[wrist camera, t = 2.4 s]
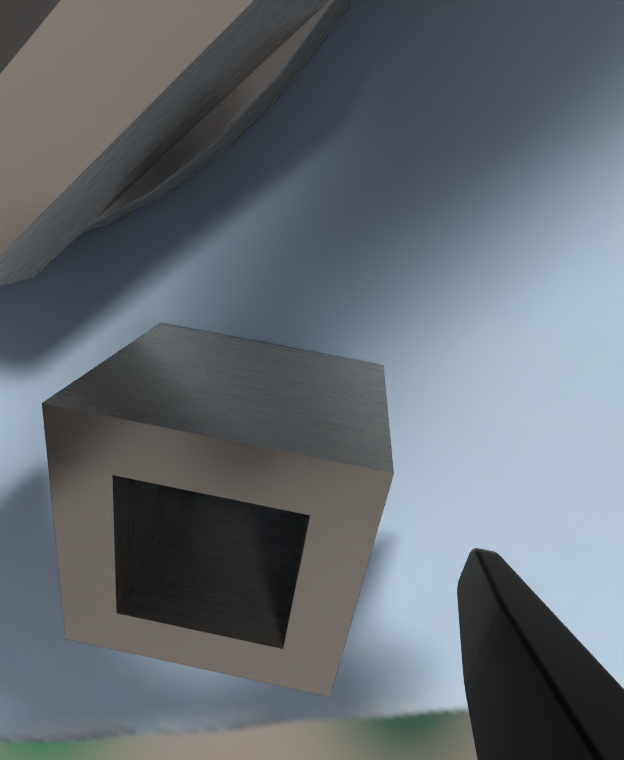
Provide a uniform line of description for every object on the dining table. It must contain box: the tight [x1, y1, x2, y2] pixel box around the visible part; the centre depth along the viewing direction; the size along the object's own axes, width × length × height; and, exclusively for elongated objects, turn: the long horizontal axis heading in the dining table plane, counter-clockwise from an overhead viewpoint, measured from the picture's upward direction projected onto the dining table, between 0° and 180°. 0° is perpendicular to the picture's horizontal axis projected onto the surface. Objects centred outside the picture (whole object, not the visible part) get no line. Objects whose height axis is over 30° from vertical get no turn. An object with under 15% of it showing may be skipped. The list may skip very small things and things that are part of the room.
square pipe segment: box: [42, 323, 394, 697], centre depth 9 cm, size 5×5×4 cm
